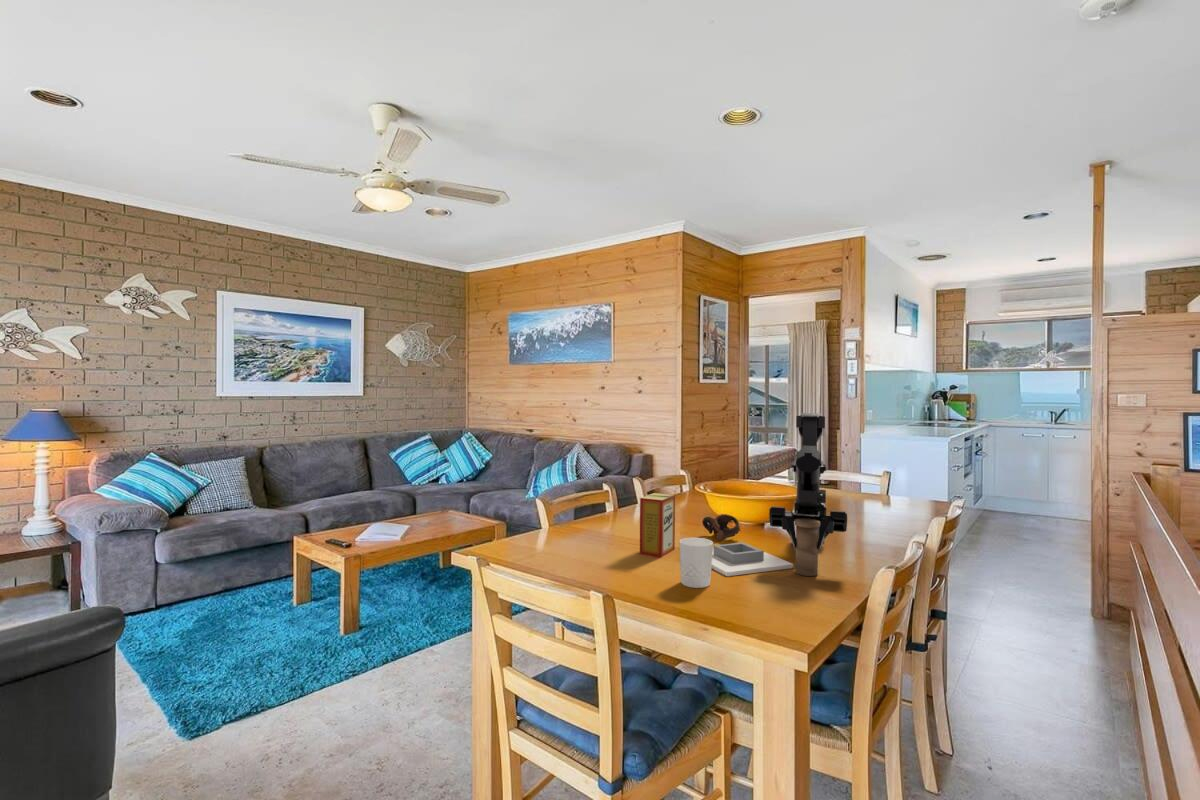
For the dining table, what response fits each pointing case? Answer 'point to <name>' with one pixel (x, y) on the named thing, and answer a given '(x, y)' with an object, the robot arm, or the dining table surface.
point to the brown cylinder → (807, 546)
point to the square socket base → (744, 560)
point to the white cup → (695, 561)
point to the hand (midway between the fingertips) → (806, 547)
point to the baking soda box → (657, 524)
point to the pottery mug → (721, 526)
